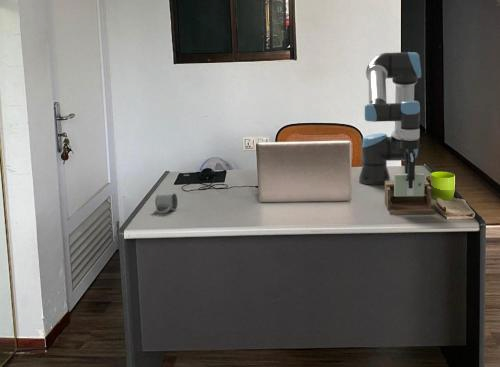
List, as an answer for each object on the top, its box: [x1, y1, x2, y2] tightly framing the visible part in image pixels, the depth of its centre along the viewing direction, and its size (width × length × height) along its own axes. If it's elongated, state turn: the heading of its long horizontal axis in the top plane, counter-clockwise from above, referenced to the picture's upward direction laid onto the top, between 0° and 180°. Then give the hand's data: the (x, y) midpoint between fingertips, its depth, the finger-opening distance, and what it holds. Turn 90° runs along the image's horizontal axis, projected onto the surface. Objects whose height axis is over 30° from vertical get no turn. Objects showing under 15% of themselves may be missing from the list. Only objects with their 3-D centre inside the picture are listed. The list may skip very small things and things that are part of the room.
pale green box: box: [393, 172, 426, 197], centre depth 319 cm, size 4×12×9 cm, turn 87°
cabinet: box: [384, 179, 435, 215], centre depth 326 cm, size 18×18×10 cm
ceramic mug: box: [154, 192, 179, 215], centre depth 336 cm, size 11×8×8 cm
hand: (409, 194), depth 320 cm, fingers closed on pale green box, 3 cm apart
